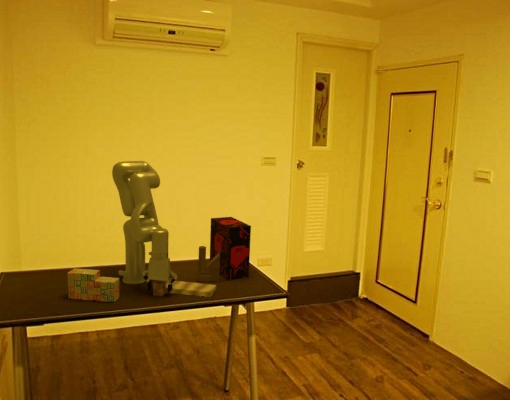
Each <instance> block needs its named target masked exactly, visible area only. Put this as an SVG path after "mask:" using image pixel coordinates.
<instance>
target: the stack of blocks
mask: <svg viewBox="0 0 510 400" xmlns="http://www.w3.org/2000/svg"><path fill="white" fill-rule="evenodd" d="M67 294H68V295H67V296H68V299H70V298H71V300H80V299H82V300H81V301H93V300H96V301H95V302H106V303H107V302H108V303H115V302H116V301H117V300H118V299H119V298H120V277H111V276H101V270H100V269H87V268H86V269H85V268H73V269H71V270H70V271H68V272H67Z"/></svg>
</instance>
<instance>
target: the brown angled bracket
mask: <svg viewBox="0 0 510 400" xmlns="http://www.w3.org/2000/svg"><path fill="white" fill-rule="evenodd" d="M206 259H207V246H205V245H200V246H198V266H197V267H198V270H197V271H198V272H197V283H205V282H206V283H207V282H208V283H210V282H213V283H214V282H220V275H219V268H220V254H219V253H218V254H217V255H216V256H215V257H214V258H213V259H212V260H211V261H210V260H209V262H207V261H206ZM206 262H207V264H206ZM211 268H212V269H211ZM206 269H211V273H210V272H206Z"/></svg>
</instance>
